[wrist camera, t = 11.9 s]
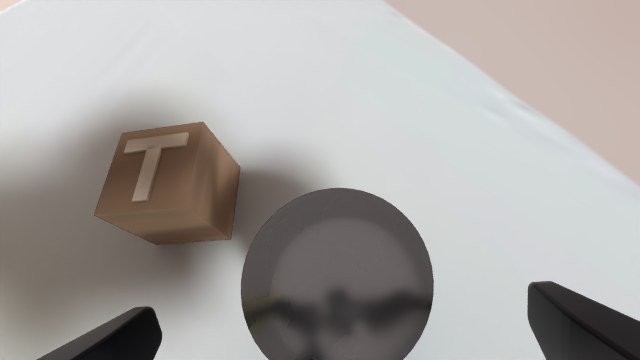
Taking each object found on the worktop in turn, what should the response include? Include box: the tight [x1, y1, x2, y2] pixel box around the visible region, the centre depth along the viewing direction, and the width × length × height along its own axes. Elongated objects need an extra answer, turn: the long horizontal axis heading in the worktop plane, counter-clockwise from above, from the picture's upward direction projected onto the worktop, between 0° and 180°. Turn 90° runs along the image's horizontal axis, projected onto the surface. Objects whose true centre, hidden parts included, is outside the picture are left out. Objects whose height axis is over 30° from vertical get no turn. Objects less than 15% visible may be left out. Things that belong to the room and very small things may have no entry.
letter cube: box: [94, 122, 240, 245], centre depth 19 cm, size 5×5×5 cm
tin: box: [241, 188, 434, 360], centre depth 12 cm, size 5×5×9 cm
